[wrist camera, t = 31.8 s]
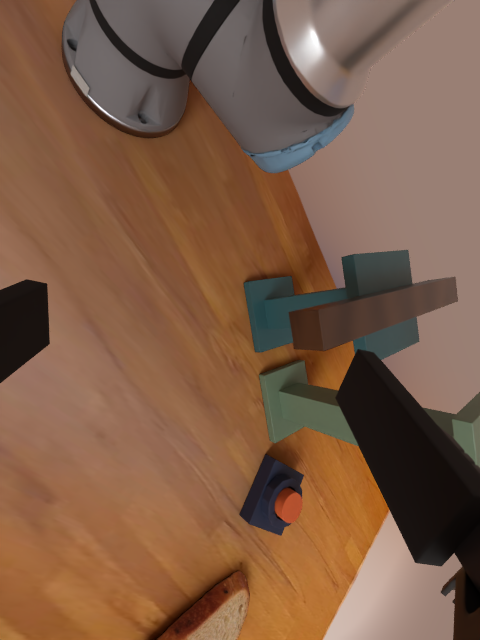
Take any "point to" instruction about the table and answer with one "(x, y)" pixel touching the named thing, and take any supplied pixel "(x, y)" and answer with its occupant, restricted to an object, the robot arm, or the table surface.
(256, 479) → the push button switch
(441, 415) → the stand
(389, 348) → the low stand
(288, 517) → the button
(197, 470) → the table surface
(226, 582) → the bread slice
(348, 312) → the rectangular bar
